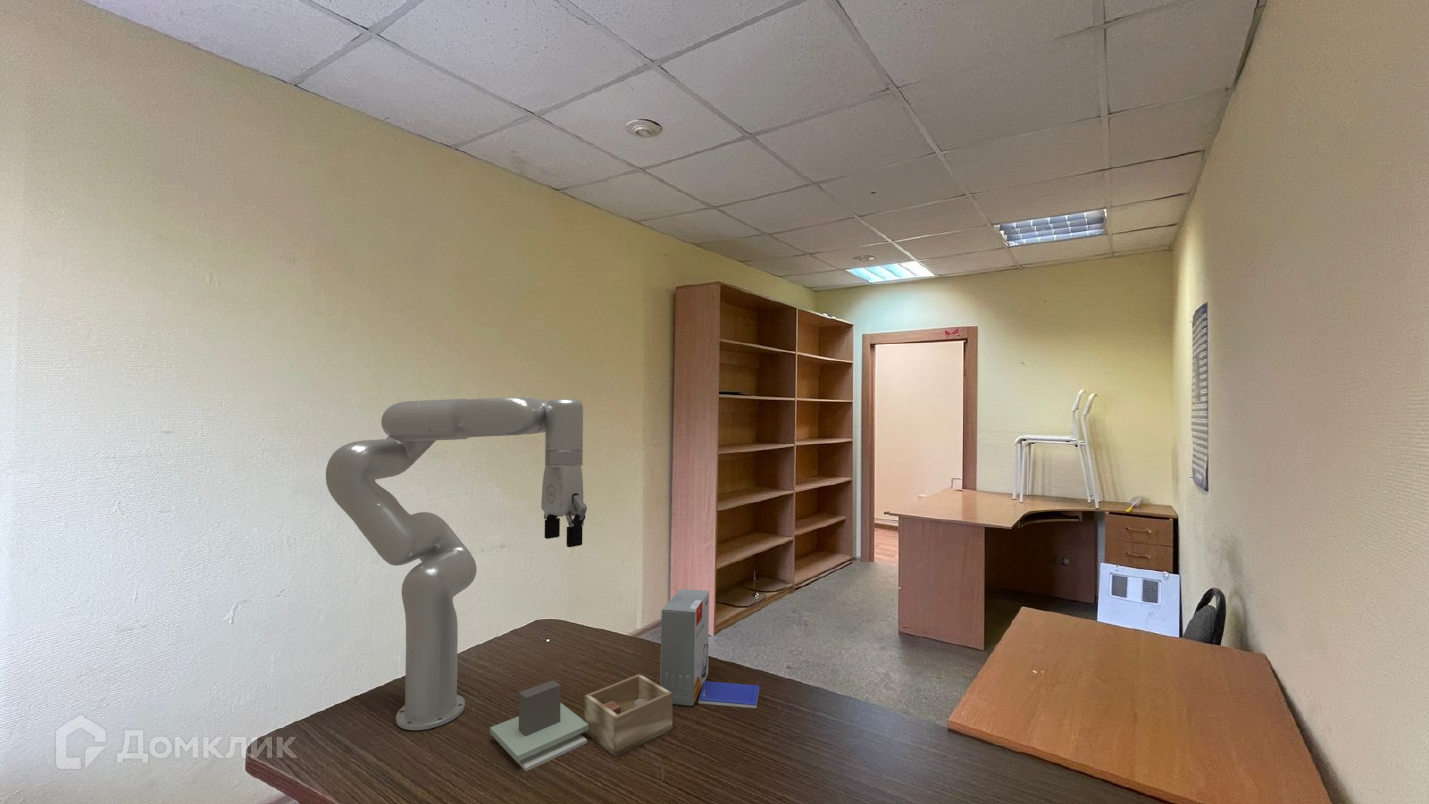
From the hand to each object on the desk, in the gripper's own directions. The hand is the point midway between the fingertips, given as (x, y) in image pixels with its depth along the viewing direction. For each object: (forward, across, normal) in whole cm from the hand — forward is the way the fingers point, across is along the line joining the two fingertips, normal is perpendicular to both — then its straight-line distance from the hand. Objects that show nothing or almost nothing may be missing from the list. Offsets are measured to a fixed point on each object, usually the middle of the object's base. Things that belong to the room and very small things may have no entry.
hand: (562, 541), depth 113 cm
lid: (+35, +5, -7) cm, 36 cm away
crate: (+35, +14, +7) cm, 39 cm away
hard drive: (+36, +17, +31) cm, 51 cm away
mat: (+36, +5, -7) cm, 36 cm away
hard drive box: (+36, +8, +26) cm, 45 cm away
